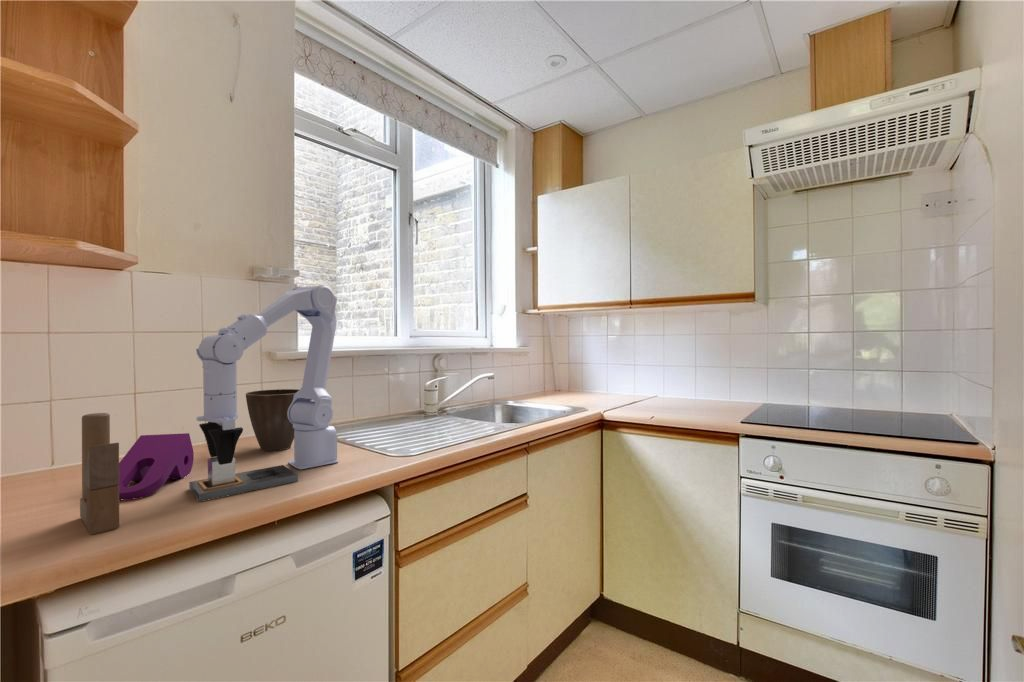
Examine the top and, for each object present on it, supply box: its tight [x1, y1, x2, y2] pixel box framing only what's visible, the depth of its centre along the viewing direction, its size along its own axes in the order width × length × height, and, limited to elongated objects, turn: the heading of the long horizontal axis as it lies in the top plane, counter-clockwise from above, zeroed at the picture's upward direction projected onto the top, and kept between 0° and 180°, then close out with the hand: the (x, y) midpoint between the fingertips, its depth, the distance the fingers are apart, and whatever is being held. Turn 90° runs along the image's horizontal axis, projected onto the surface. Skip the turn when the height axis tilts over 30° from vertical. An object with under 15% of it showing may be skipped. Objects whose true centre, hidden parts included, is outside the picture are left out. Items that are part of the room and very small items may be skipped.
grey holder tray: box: [188, 464, 299, 502], centre depth 96 cm, size 18×10×2 cm, turn 134°
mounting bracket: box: [118, 432, 195, 501], centre depth 96 cm, size 9×8×18 cm
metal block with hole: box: [207, 456, 236, 488], centre depth 93 cm, size 4×4×7 cm
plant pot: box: [245, 388, 300, 452], centre depth 128 cm, size 15×15×16 cm
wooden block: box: [79, 412, 120, 535], centre depth 76 cm, size 4×11×18 cm, turn 50°
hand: (220, 459), depth 93 cm, fingers open, 7 cm apart
